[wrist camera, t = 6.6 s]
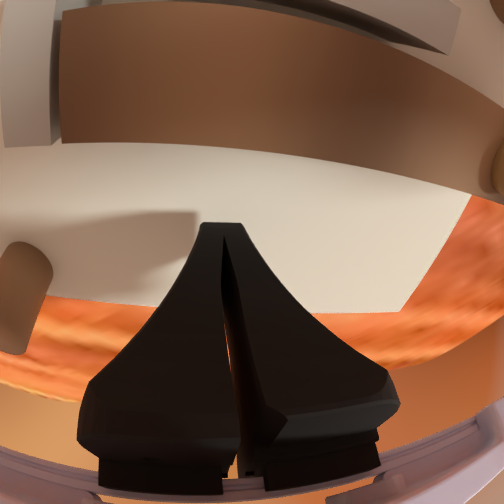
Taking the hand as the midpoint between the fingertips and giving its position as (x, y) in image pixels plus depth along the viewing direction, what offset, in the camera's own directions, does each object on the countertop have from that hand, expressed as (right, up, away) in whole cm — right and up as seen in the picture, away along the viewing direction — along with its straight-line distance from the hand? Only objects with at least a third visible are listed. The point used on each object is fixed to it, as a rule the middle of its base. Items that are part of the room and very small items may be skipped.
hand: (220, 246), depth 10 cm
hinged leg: (+4, +5, -2) cm, 7 cm away
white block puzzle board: (+1, +6, -1) cm, 6 cm away
